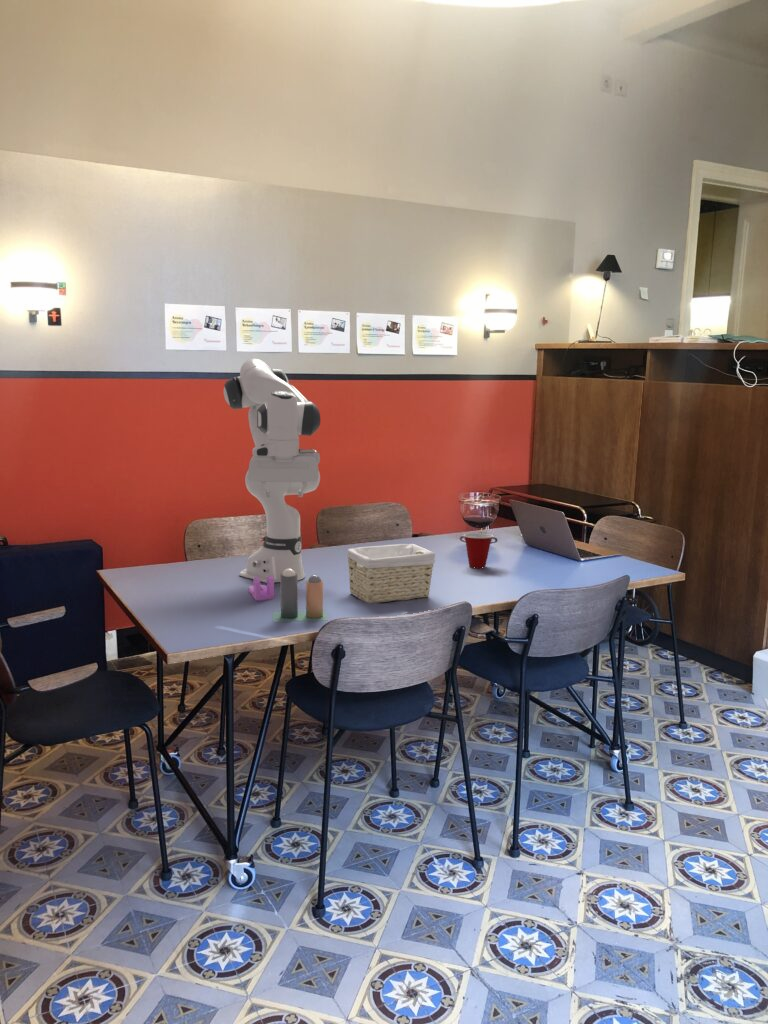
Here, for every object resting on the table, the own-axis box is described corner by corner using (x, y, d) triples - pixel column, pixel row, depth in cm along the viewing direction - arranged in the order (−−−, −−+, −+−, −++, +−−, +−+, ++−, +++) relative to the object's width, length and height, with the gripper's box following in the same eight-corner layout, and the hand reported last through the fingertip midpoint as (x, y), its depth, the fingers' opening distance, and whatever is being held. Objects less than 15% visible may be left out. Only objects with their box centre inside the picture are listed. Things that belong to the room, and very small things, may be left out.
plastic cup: (489, 563, 290) (491, 531, 288) (494, 570, 279) (495, 537, 277) (460, 562, 290) (461, 530, 287) (464, 570, 279) (465, 537, 277)
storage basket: (411, 585, 259) (412, 541, 256) (436, 598, 244) (437, 552, 242) (344, 593, 248) (345, 547, 246) (366, 607, 234) (366, 559, 231)
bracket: (274, 599, 241) (273, 577, 240) (256, 601, 239) (255, 578, 238) (264, 588, 253) (264, 567, 252) (247, 589, 251) (247, 568, 250)
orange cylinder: (302, 616, 221) (302, 575, 219) (311, 612, 226) (311, 572, 224) (317, 619, 219) (317, 578, 217) (325, 614, 224) (326, 574, 222)
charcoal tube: (277, 616, 221) (276, 569, 218) (287, 612, 225) (286, 565, 222) (291, 619, 219) (291, 571, 216) (301, 614, 223) (300, 567, 220)
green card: (273, 624, 217) (273, 621, 217) (273, 614, 226) (273, 611, 226) (327, 623, 219) (327, 620, 219) (325, 613, 228) (325, 610, 227)
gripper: (319, 448, 228) (319, 495, 231) (248, 447, 226) (249, 495, 228) (320, 450, 222) (320, 498, 225) (247, 450, 220) (248, 499, 222)
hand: (283, 497), depth 227 cm, fingers open, 8 cm apart
